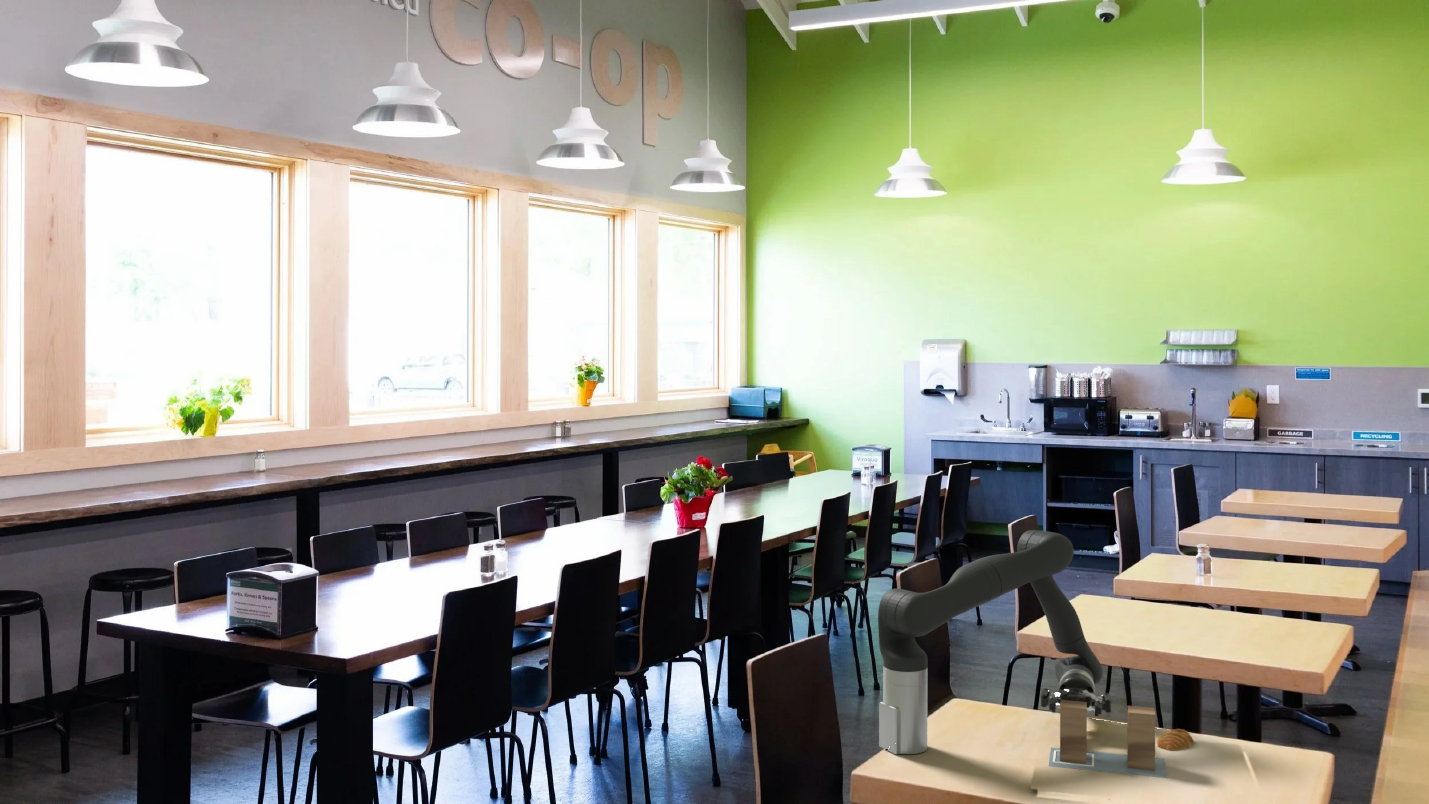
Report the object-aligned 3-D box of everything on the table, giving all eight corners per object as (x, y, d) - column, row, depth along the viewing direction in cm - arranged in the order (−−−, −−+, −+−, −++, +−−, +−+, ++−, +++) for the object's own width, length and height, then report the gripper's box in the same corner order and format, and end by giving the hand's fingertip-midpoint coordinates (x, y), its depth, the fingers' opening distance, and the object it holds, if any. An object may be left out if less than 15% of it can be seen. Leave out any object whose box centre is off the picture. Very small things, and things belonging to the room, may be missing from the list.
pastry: (1182, 760, 236) (1182, 741, 236) (1149, 753, 240) (1148, 735, 240) (1197, 748, 243) (1197, 730, 243) (1164, 742, 247) (1164, 724, 247)
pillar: (1086, 763, 229) (1086, 708, 229) (1059, 761, 231) (1060, 706, 231) (1086, 756, 234) (1086, 702, 234) (1060, 753, 236) (1061, 700, 236)
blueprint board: (1167, 784, 221) (1167, 777, 221) (1048, 771, 228) (1048, 765, 228) (1164, 764, 233) (1164, 757, 233) (1050, 753, 240) (1050, 746, 240)
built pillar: (1155, 770, 225) (1155, 714, 225) (1127, 768, 227) (1128, 712, 227) (1153, 762, 230) (1154, 707, 230) (1127, 760, 232) (1127, 705, 231)
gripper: (1043, 670, 257) (1039, 689, 242) (1110, 675, 252) (1111, 694, 237) (1043, 703, 257) (1039, 724, 242) (1110, 709, 253) (1111, 731, 237)
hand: (1075, 709), depth 239 cm, fingers open, 8 cm apart
